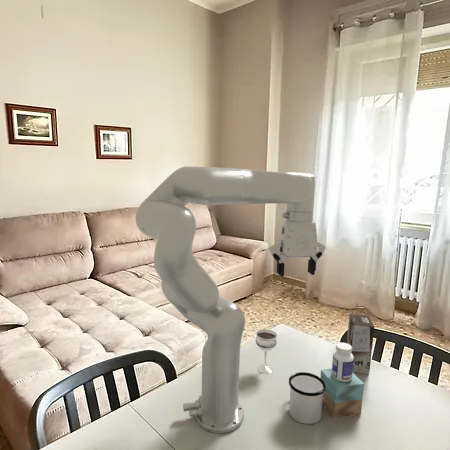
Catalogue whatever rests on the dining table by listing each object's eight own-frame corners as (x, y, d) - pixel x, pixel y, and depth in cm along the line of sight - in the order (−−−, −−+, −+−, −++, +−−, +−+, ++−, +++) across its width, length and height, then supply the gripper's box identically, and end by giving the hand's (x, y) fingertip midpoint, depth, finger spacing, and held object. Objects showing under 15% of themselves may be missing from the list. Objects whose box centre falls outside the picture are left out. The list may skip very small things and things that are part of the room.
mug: (330, 422, 89) (333, 390, 88) (297, 429, 87) (299, 396, 85) (306, 393, 101) (308, 364, 99) (276, 398, 98) (278, 369, 97)
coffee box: (370, 374, 111) (375, 327, 108) (349, 371, 112) (353, 324, 110) (364, 359, 120) (369, 315, 117) (345, 357, 121) (349, 313, 118)
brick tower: (333, 418, 91) (336, 387, 90) (318, 398, 99) (321, 369, 97) (360, 414, 93) (363, 383, 91) (344, 395, 101) (346, 366, 99)
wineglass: (279, 370, 112) (281, 335, 110) (265, 377, 108) (267, 341, 106) (264, 360, 117) (266, 327, 115) (250, 367, 113) (251, 333, 111)
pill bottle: (353, 374, 95) (356, 344, 94) (350, 384, 91) (352, 353, 89) (333, 368, 98) (336, 339, 96) (329, 378, 93) (331, 347, 92)
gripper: (275, 219, 94) (272, 280, 97) (333, 218, 98) (329, 276, 101) (266, 215, 101) (263, 272, 104) (320, 214, 106) (316, 269, 108)
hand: (296, 274), depth 103 cm, fingers open, 9 cm apart
